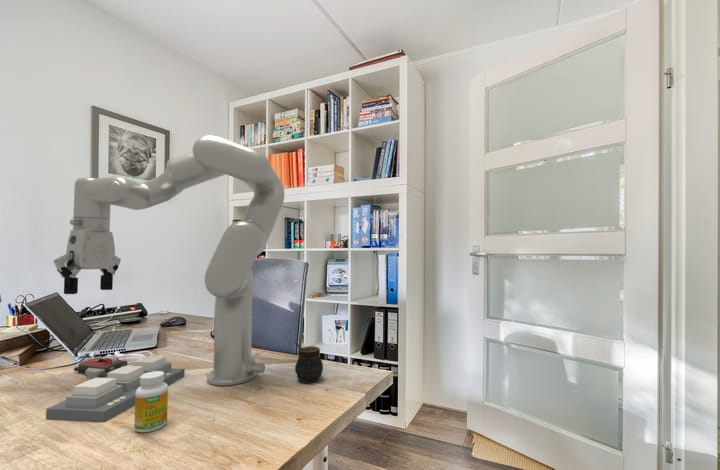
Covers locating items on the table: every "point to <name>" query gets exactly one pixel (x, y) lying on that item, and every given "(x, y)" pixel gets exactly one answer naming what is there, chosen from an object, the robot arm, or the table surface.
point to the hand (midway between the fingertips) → (89, 291)
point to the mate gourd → (309, 364)
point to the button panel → (107, 399)
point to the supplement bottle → (151, 402)
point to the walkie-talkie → (100, 366)
